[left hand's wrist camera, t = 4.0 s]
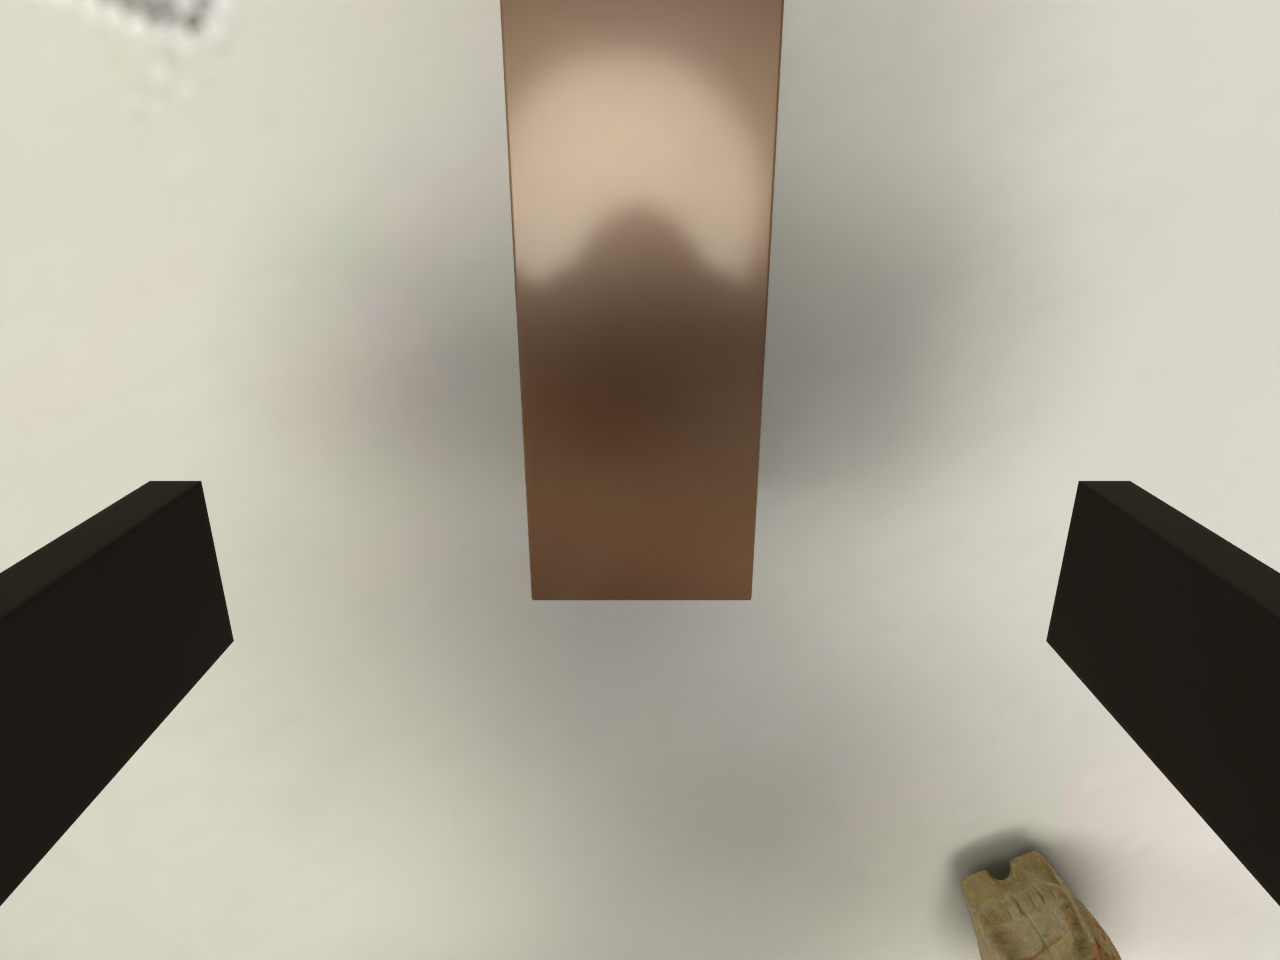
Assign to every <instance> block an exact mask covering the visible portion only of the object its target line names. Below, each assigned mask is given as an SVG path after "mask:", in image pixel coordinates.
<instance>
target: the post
mask: <svg viewBox="0 0 1280 960" xmlns="http://www.w3.org/2000/svg"><path fill="white" fill-rule="evenodd" d="M500 8H501V27H502V46H503V65H504V83H505V102H506V121H507V140H508V159H509V178H510V197H511V216H512V234H513V253H514V272H515V291H516V310H517V329H518V348H519V367H520V385H521V404H522V423H523V442H524V461H525V480H526V499H527V518H528V537H529V555H530V574H531V593H532V600H751V596H752V578H753V559H754V541H755V523H756V504H757V486H758V467H759V449H760V431H761V412H762V394H763V376H764V357H765V339H766V321H767V302H768V284H769V266H770V247H771V229H772V210H773V192H774V174H775V155H776V137H777V119H778V100H779V82H780V64H781V45H782V27H783V9H784V0H500Z"/></svg>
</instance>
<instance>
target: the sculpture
mask: <svg viewBox="0 0 1280 960" xmlns="http://www.w3.org/2000/svg"><path fill="white" fill-rule="evenodd" d="M1009 867H1010V874H1009V876H1008V877H1007V879H1004V880H998V879H995V878H994V877H993V876H992V875H991V874H990V873H989V872H988V871H987V870H983V871H980V872H977V873H975V874H972V875H970V876H968V877H967V878H965V879H963V880H962V881H961V888H962V891H963V894H964V897H965V899H966V902H967V905H968V908H969V911H970V914H971V917H972V921H973V925H974V929H975V933H976V936H977V939H978V948H979V951H980V955H981V959H982V960H1121V958H1120V956H1119V953H1118V951H1117V950H1116V948H1115V946H1114V945H1113V943H1112V941H1111V940H1110V938H1109V937H1108V935H1107V934H1106V933H1105V931H1104V930H1103V929H1102V927H1101V926H1100V925H1099V923H1098V922H1097V921H1096V919H1095V918H1094V917H1093V916H1092V914H1091V913H1090V912H1089V911H1088V910H1087V908H1086V907H1085V906H1084V905H1083V904H1082V902H1081V901H1080V900H1079V899H1077V898H1076V897H1075V896H1074V894H1073V893H1072V892H1071V891H1070V890H1069V888H1068V887H1067V886H1066V884H1065V883H1064V882H1063V881H1062V879H1061V878H1060V877H1059V875H1058V874H1057V873H1056V872H1055V870H1054V869H1053V868H1052V867H1051V866H1050V864H1049V863H1048V862H1047V861H1046V860H1045V858H1044V857H1043V856H1042V855H1041V854H1040V853H1039V852H1037V851H1031V852H1029V853H1026V854H1023V855H1020V856H1017V857H1015V858H1013V859H1012V860H1011V861H1010V862H1009Z"/></svg>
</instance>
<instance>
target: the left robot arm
mask: <svg viewBox="0 0 1280 960" xmlns="http://www.w3.org/2000/svg"><path fill="white" fill-rule="evenodd" d="M233 641H234V640H233V635H232V630H231V626H230V621H229V616H228V611H227V606H226V601H225V596H224V591H223V586H222V581H221V576H220V571H219V567H218V562H217V557H216V552H215V547H214V542H213V537H212V532H211V527H210V522H209V517H208V513H207V508H206V503H205V498H204V493H203V488H202V483H201V481H149V482H148V483H146V484H144V485H143V486H141V487H140V488H138V489H136V490H135V491H133V492H131V493H130V494H128V495H127V496H125V497H123V498H122V499H120V500H118V501H117V502H115V503H114V504H112V505H110V506H109V507H107V508H105V509H104V510H102V511H101V512H99V513H97V514H96V515H94V516H92V517H91V518H89V519H88V520H86V521H84V522H83V523H81V524H79V525H78V526H76V527H75V528H73V529H71V530H70V531H68V532H66V533H65V534H63V535H62V536H60V537H58V538H57V539H55V540H53V541H52V542H50V543H49V544H47V545H45V546H44V547H42V548H40V549H39V550H37V551H36V552H34V553H32V554H31V555H29V556H27V557H26V558H24V559H23V560H21V561H19V562H18V563H16V564H14V565H13V566H11V567H10V568H8V569H6V570H5V571H3V572H1V573H0V906H1V905H2V904H3V902H4V901H5V900H6V899H7V898H8V897H9V896H10V894H11V893H12V892H13V891H14V890H15V889H16V888H17V887H18V885H19V884H20V883H21V882H22V881H23V880H24V879H25V877H26V876H27V875H28V874H29V873H30V872H31V871H32V869H33V868H34V867H35V866H36V865H37V864H38V863H39V862H40V860H41V859H42V858H43V857H44V856H45V855H46V854H47V852H48V851H49V850H50V849H51V848H52V847H53V846H54V844H55V843H56V842H57V841H58V840H59V839H60V838H61V837H62V835H63V834H64V833H65V832H66V831H67V830H68V829H69V827H70V826H71V825H72V824H73V823H74V822H75V821H76V819H77V818H78V817H79V816H80V815H81V814H82V813H83V812H84V810H85V809H86V808H87V807H88V806H89V805H90V804H91V802H92V801H93V800H94V799H95V798H96V797H97V796H98V794H99V793H100V792H101V791H102V790H103V789H104V788H105V787H106V785H107V784H108V783H109V782H110V781H111V780H112V779H113V777H114V776H115V775H116V774H117V773H118V772H119V771H120V769H121V768H122V767H123V766H124V765H125V764H126V763H127V762H128V760H129V759H130V758H131V757H132V756H133V755H134V754H135V752H136V751H137V750H138V749H139V748H140V747H141V746H142V745H143V743H144V742H145V741H146V740H147V739H148V738H149V737H150V735H151V734H152V733H153V732H154V731H155V730H156V729H157V727H158V726H159V725H160V724H161V723H162V722H163V721H164V720H165V718H166V717H167V716H168V715H169V714H170V713H171V712H172V710H173V709H174V708H175V707H176V706H177V705H178V704H179V702H180V701H181V700H182V699H183V698H184V697H185V696H186V695H187V693H188V692H189V691H190V690H191V689H192V688H193V687H194V685H195V684H196V683H197V682H198V681H199V680H200V679H201V677H202V676H203V675H204V674H205V673H206V672H207V671H208V670H209V668H210V667H211V666H212V665H213V664H214V663H215V662H216V660H217V659H218V658H219V657H220V656H221V655H222V654H223V652H224V651H225V650H226V649H227V648H228V647H229V646H230V645H231V643H232V642H233ZM1046 641H1047V642H1048V643H1049V645H1050V646H1051V647H1052V648H1053V649H1054V650H1055V651H1056V652H1057V654H1058V655H1059V656H1060V657H1061V658H1062V659H1063V660H1064V662H1065V663H1066V664H1067V665H1068V666H1069V667H1070V668H1071V670H1072V671H1073V672H1074V673H1075V674H1076V675H1077V676H1078V677H1079V679H1080V680H1081V681H1082V682H1083V683H1084V684H1085V685H1086V687H1087V688H1088V689H1089V690H1090V691H1091V692H1092V693H1093V695H1094V696H1095V697H1096V698H1097V699H1098V700H1099V701H1100V702H1101V704H1102V705H1103V706H1104V707H1105V708H1106V709H1107V710H1108V712H1109V713H1110V714H1111V715H1112V716H1113V717H1114V718H1115V720H1116V721H1117V722H1118V723H1119V724H1120V725H1121V726H1122V727H1123V729H1124V730H1125V731H1126V732H1127V733H1128V734H1129V735H1130V737H1131V738H1132V739H1133V740H1134V741H1135V742H1136V743H1137V745H1138V746H1139V747H1140V748H1141V749H1142V750H1143V751H1144V752H1145V754H1146V755H1147V756H1148V757H1149V758H1150V759H1151V760H1152V762H1153V763H1154V764H1155V765H1156V766H1157V767H1158V768H1159V769H1160V771H1161V772H1162V773H1163V774H1164V775H1165V776H1166V777H1167V779H1168V780H1169V781H1170V782H1171V783H1172V784H1173V785H1174V787H1175V788H1176V789H1177V790H1178V791H1179V792H1180V793H1181V794H1182V796H1183V797H1184V798H1185V799H1186V800H1187V801H1188V802H1189V804H1190V805H1191V806H1192V807H1193V808H1194V809H1195V810H1196V812H1197V813H1198V814H1199V815H1200V816H1201V817H1202V818H1203V819H1204V821H1205V822H1206V823H1207V824H1208V825H1209V826H1210V827H1211V829H1212V830H1213V831H1214V832H1215V833H1216V834H1217V835H1218V837H1219V838H1220V839H1221V840H1222V841H1223V842H1224V843H1225V844H1226V846H1227V847H1228V848H1229V849H1230V850H1231V851H1232V852H1233V854H1234V855H1235V856H1236V857H1237V858H1238V859H1239V860H1240V862H1241V863H1242V864H1243V865H1244V866H1245V867H1246V868H1247V869H1248V871H1249V872H1250V873H1251V874H1252V875H1253V876H1254V877H1255V879H1256V880H1257V881H1258V882H1259V883H1260V884H1261V885H1262V887H1263V888H1264V889H1265V890H1266V891H1267V892H1268V893H1269V894H1270V896H1271V897H1272V898H1273V899H1274V900H1275V901H1276V902H1277V904H1278V905H1279V906H1280V573H1279V572H1277V571H1275V570H1274V569H1272V568H1270V567H1269V566H1267V565H1266V564H1264V563H1262V562H1261V561H1259V560H1257V559H1256V558H1254V557H1253V556H1251V555H1249V554H1248V553H1246V552H1244V551H1243V550H1241V549H1240V548H1238V547H1236V546H1235V545H1233V544H1231V543H1230V542H1228V541H1227V540H1225V539H1223V538H1222V537H1220V536H1218V535H1217V534H1215V533H1214V532H1212V531H1210V530H1209V529H1207V528H1205V527H1204V526H1202V525H1201V524H1199V523H1197V522H1196V521H1194V520H1192V519H1191V518H1189V517H1188V516H1186V515H1184V514H1183V513H1181V512H1179V511H1178V510H1176V509H1175V508H1173V507H1171V506H1170V505H1168V504H1166V503H1165V502H1163V501H1162V500H1160V499H1158V498H1157V497H1155V496H1153V495H1152V494H1150V493H1149V492H1147V491H1145V490H1144V489H1142V488H1140V487H1139V486H1137V485H1136V484H1134V483H1132V482H1131V481H1079V483H1078V488H1077V493H1076V498H1075V503H1074V508H1073V513H1072V517H1071V522H1070V527H1069V532H1068V537H1067V542H1066V547H1065V552H1064V557H1063V562H1062V567H1061V571H1060V576H1059V581H1058V586H1057V591H1056V596H1055V601H1054V606H1053V611H1052V616H1051V621H1050V626H1049V630H1048V635H1047V640H1046Z"/></svg>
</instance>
